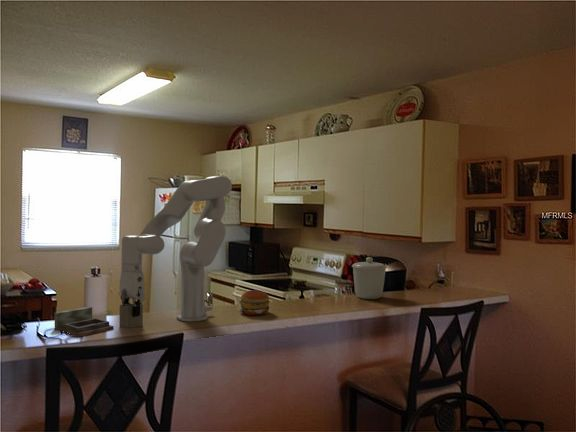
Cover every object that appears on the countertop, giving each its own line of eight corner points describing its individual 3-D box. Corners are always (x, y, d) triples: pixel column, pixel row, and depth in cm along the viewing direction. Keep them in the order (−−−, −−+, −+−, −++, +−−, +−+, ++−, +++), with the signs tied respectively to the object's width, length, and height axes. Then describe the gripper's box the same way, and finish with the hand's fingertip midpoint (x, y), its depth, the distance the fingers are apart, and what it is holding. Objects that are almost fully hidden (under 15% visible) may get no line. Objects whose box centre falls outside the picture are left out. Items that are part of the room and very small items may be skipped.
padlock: (119, 326, 190) (119, 287, 189) (140, 323, 193) (141, 285, 193) (121, 328, 186) (121, 288, 186) (143, 326, 190) (143, 287, 190)
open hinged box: (89, 322, 194) (89, 306, 194) (113, 329, 185) (113, 312, 185) (54, 329, 183) (54, 312, 183) (78, 337, 173) (78, 319, 173)
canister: (347, 294, 265) (348, 255, 264) (380, 294, 267) (381, 255, 266) (355, 301, 247) (356, 259, 246) (390, 301, 249) (392, 259, 248)
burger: (274, 315, 212) (274, 292, 212) (244, 318, 207) (244, 294, 207) (263, 309, 225) (264, 287, 224) (234, 311, 219) (235, 288, 219)
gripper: (154, 269, 187) (153, 316, 188) (126, 264, 197) (126, 310, 198) (137, 271, 181) (136, 320, 182) (109, 266, 191) (109, 313, 192)
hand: (131, 314), depth 190 cm, fingers closed on padlock, 5 cm apart
